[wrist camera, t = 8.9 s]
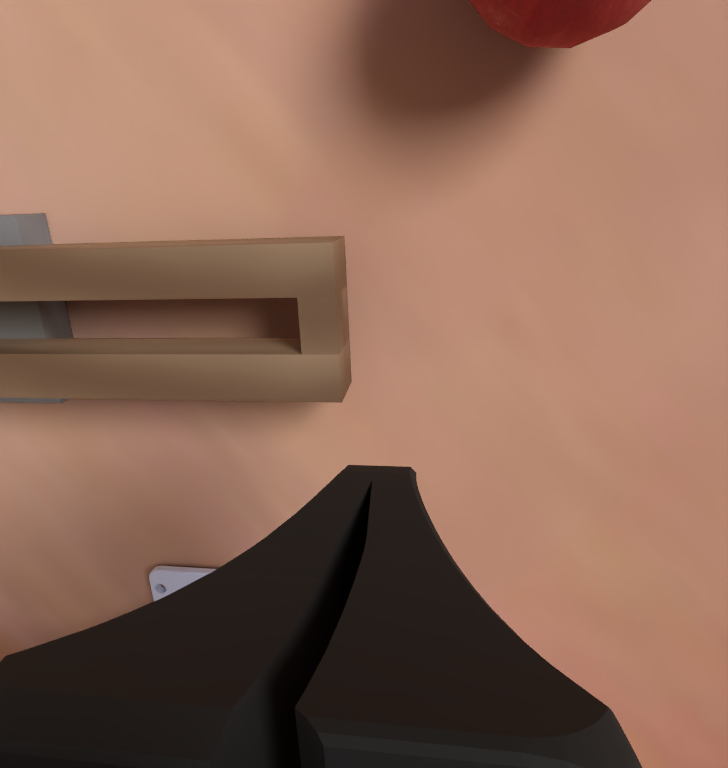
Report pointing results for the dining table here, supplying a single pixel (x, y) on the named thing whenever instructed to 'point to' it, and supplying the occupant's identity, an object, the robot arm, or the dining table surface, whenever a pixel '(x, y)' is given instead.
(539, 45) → the onion
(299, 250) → the beam
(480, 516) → the dining table surface
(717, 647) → the dining table surface
